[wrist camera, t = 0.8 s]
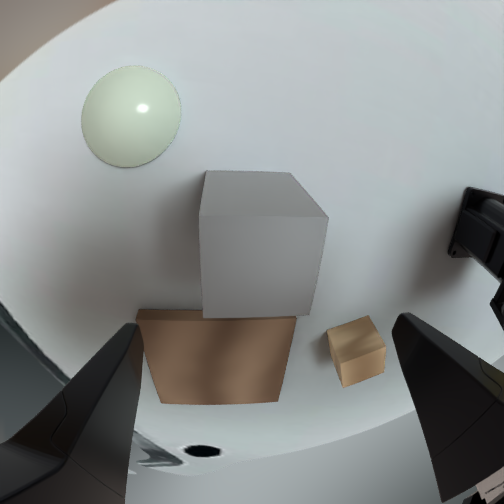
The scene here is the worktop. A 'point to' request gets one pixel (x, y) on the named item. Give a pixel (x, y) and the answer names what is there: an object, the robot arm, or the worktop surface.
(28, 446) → the robot arm
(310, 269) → the slate block
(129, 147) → the pale green rounded piece
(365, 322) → the oak cube
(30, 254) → the worktop surface
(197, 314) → the walnut board
